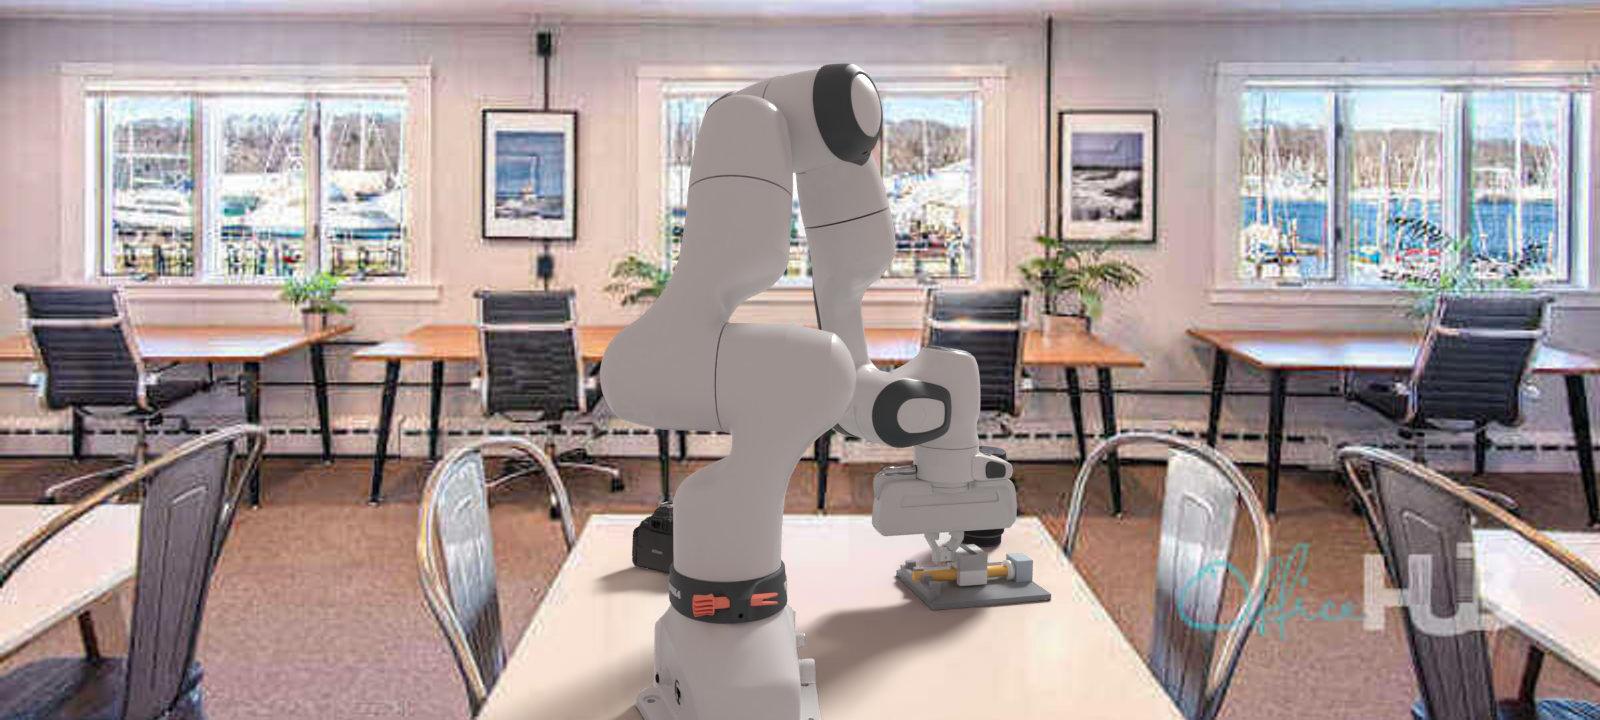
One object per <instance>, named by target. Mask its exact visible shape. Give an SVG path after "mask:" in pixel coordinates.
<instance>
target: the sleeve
mask: <svg viewBox="0 0 1600 720" xmlns="http://www.w3.org/2000/svg"><path fill="white" fill-rule="evenodd" d="M988 555H989V554H988V553H987V552H986V551H985V550H984V549H982V548H981V547H980V546H976V545H975V544H965V543H964V544H962V543H961V544H960V545H959V547H958V549H957V550H956V554H955V562H952V563H947V565H946V566H947V569H955V568H956V569H957V584H958V585H959V586H968V585H980V584H987V563H989V562H988V560H989V559H988V558H989V557H988Z"/></svg>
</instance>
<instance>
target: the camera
mask: <svg viewBox="0 0 1600 720" xmlns="http://www.w3.org/2000/svg"><path fill="white" fill-rule="evenodd" d="M631 548H632V549H631V556H632V557H631V562H632V564H633V566H635V567H637V568H641V569H646V570H648V571H649V570H650V571H654V572H659V573H664V574H667V575H669V572H670V565H671V564H672V563H673V562H674V556H673V501H665V502H662V503H660V504H659V506H658V507H657V508H656V509H655V510H654V512H653V513H652V514H651V515H649V516H646V517H645V519H643V520H641V521H640V523H639V525H638V526H637V527H635V528H634V529H633V531H632V546H631Z"/></svg>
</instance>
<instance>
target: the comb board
mask: <svg viewBox="0 0 1600 720" xmlns="http://www.w3.org/2000/svg"><path fill="white" fill-rule="evenodd" d="M916 565H917V562H916V560H914V559H906V560H905V563H904V564H900V569H896V570H895V571H896V574H895V575H896V576H897V578H899V580H901V582H903V583H904V584H905V585H906V586H907V587H908V588H909V589H910V590H911V591H912V592H913V593H914V594H915V595H916V596H917V597H919V599H920V600H921V601H923V602H924V604H926V605H927V607H929V608H930V609H931V610H932V611H939V610H951V609H961V608H973V607H982V606H983V607H985V606H993V605H995V606H996V605H1006V604H1009V605H1010V604H1017V603H1019V604H1020V603H1028V602H1029V603H1030V602H1031V601H1032V602H1039V601H1038V600H1043V601H1046V600H1045V599H1051V600H1052V593H1050V592H1049V591H1048V590H1046V589H1045V588H1044V587H1042V586H1040V585H1039V584H1037V583H1036V582H1034V581H1033V574H1034V572H1033V571H1034V560H1033V559H1032V558H1030V557H1029V556H1027V554H1024V553H1023V552H1014V553H1006V556H1005V560H1002V561H993V562H987V584H980V585H968V586H959V585H958V584H957V569H956V568H955V569H947V566H948V565H944V566H942V565H941V566H931V567H927V566H926V567H922V566H916Z"/></svg>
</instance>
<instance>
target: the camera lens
mask: <svg viewBox="0 0 1600 720" xmlns="http://www.w3.org/2000/svg"><path fill="white" fill-rule="evenodd" d="M979 451H982V452H986V453H988V454H991V455H993V456H996V457H999V458H1001V459H1003V460H1005V461H1007V462H1008V457H1007V451H1006V450H1005V449H1003V448H1001V447H997V446H990V445H979ZM1004 533H1005V528H1001V529H986V530H972V531H964V539H963V541H962V542H961V543H964V544H965V545H969V544H975V545H976V546H978V547H993V546H997V545H1000V544H1001V543H1002V535H1003V534H1004Z"/></svg>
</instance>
